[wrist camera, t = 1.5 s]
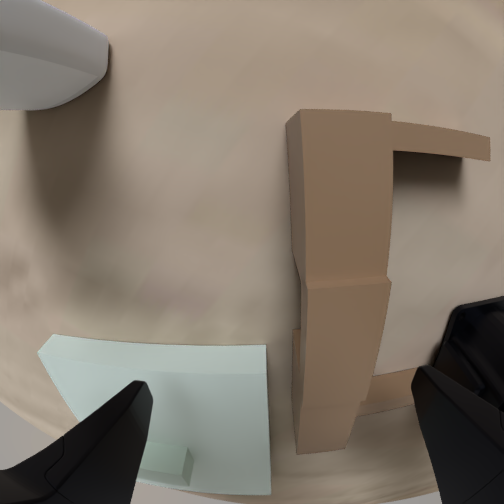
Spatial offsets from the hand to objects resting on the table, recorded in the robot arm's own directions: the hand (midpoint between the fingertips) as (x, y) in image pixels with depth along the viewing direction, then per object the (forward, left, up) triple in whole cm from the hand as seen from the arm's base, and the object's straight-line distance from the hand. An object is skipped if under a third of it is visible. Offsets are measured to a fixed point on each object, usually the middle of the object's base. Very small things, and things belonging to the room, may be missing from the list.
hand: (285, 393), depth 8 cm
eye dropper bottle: (+9, -12, -5) cm, 16 cm away
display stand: (+8, +10, -5) cm, 14 cm away
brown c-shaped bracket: (-5, -1, -5) cm, 7 cm away
